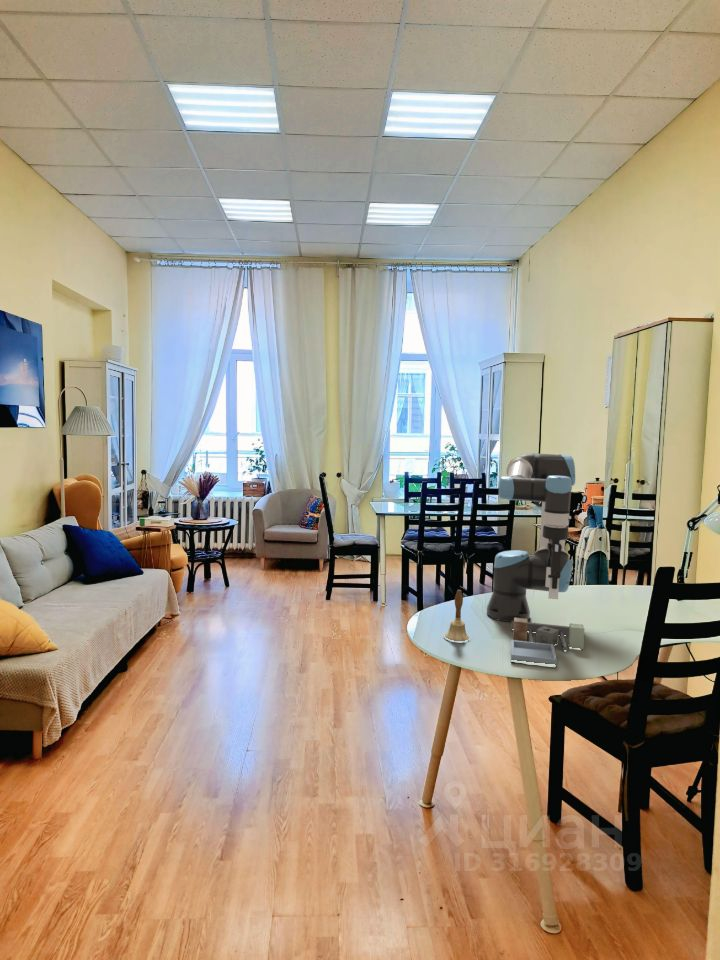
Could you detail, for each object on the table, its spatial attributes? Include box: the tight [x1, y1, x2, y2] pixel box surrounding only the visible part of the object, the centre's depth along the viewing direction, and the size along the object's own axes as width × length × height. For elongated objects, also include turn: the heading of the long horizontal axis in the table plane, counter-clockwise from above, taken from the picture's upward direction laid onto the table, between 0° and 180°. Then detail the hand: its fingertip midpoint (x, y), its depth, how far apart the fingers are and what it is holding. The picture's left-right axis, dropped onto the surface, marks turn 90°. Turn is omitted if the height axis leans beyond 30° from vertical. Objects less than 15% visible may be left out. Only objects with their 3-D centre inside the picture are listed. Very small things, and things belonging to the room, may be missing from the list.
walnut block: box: [512, 618, 528, 642], centre depth 201 cm, size 4×4×7 cm
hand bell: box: [444, 589, 470, 641], centre depth 201 cm, size 8×8×16 cm
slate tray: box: [510, 639, 558, 666], centre depth 188 cm, size 13×13×2 cm
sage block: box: [567, 622, 585, 650], centre depth 197 cm, size 4×4×7 cm
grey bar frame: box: [510, 621, 569, 651], centre depth 202 cm, size 22×16×3 cm
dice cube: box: [535, 626, 559, 645], centre depth 199 cm, size 5×5×5 cm
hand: (551, 592), depth 198 cm, fingers open, 13 cm apart
